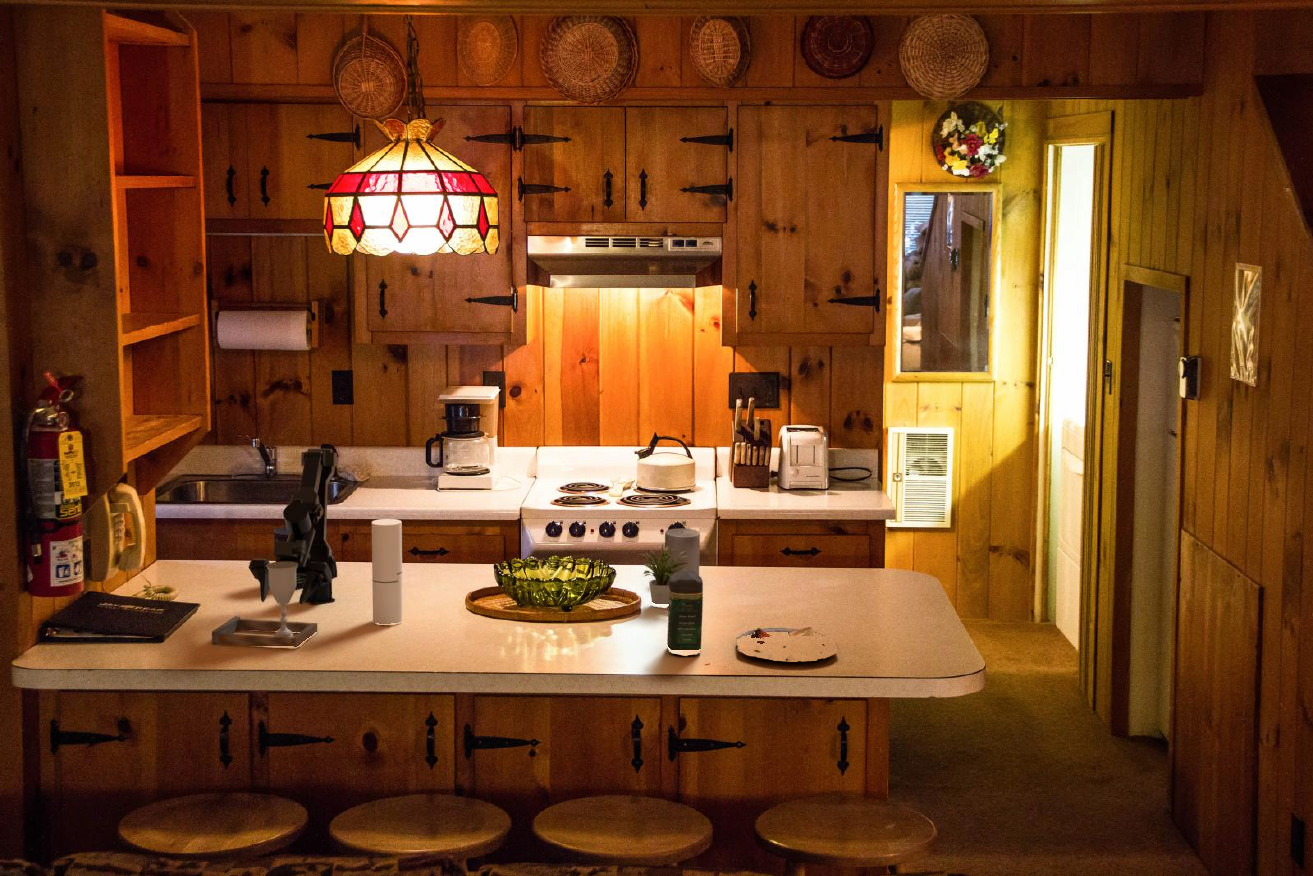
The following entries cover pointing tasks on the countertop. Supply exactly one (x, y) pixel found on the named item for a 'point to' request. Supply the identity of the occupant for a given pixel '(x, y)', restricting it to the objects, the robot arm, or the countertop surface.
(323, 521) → the robot arm
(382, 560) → the cylindrical container
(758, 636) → the food plate
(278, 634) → the chalice
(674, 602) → the coffee jar
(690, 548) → the pillar candle
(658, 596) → the house plant
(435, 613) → the countertop surface
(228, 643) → the rectangular frame
